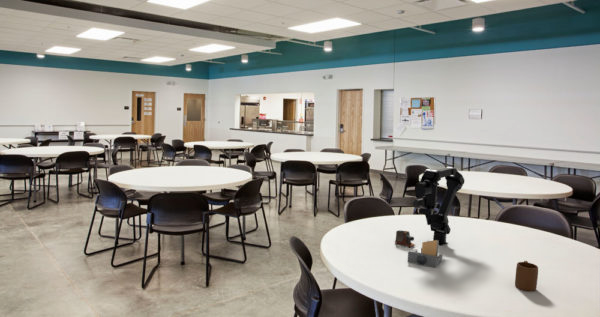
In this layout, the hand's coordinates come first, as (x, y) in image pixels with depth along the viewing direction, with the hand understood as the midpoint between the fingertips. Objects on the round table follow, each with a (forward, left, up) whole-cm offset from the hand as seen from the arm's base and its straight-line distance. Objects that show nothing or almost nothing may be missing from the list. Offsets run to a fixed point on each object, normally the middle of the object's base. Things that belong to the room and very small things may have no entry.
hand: (428, 224), depth 207 cm
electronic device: (+7, -8, -12) cm, 17 cm away
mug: (+2, +51, -12) cm, 52 cm away
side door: (+14, +13, -12) cm, 23 cm away
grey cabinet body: (+17, +13, -12) cm, 24 cm away
